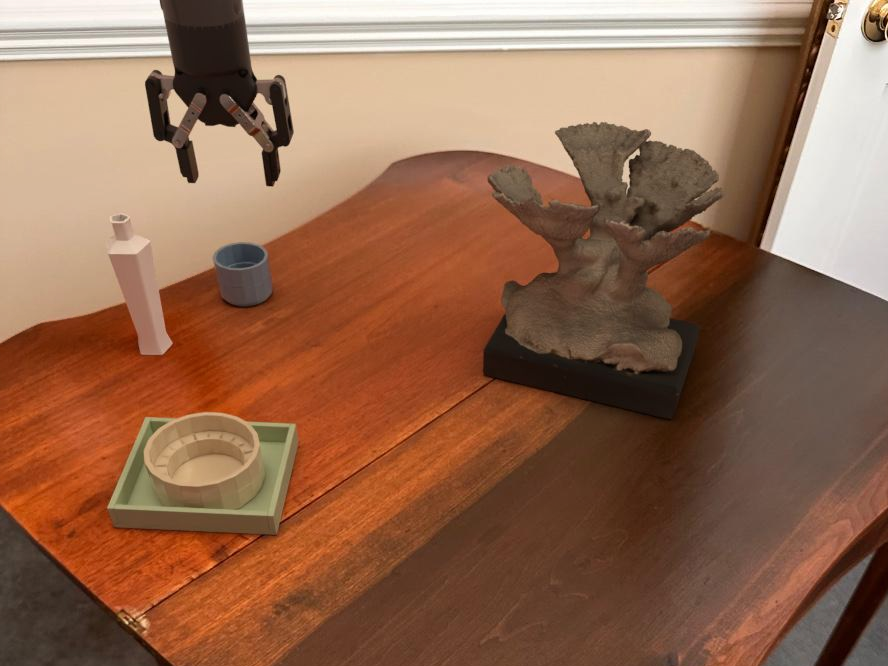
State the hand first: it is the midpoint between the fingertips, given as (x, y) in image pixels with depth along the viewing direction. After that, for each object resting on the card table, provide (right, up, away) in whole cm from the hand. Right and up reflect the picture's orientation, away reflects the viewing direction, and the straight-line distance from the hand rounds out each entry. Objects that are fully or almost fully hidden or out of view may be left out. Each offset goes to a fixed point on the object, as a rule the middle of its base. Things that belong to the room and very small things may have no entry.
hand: (232, 181), depth 95 cm
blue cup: (-1, -8, +12) cm, 15 cm away
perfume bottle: (-10, -17, +5) cm, 20 cm away
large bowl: (0, -34, -10) cm, 36 cm away
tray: (0, -34, -10) cm, 36 cm away
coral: (+39, -16, +7) cm, 43 cm away
